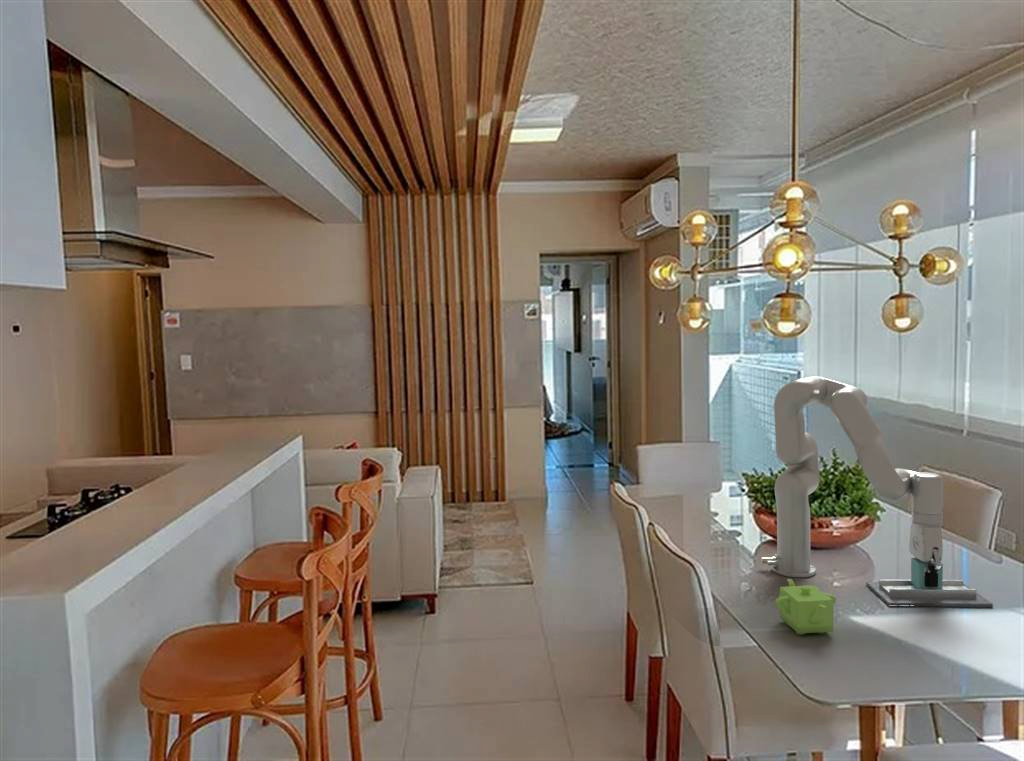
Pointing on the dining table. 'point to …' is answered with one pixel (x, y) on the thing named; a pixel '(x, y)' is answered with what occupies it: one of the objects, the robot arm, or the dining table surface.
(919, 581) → the block
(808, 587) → the teapot
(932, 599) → the rail board
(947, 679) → the dining table surface
